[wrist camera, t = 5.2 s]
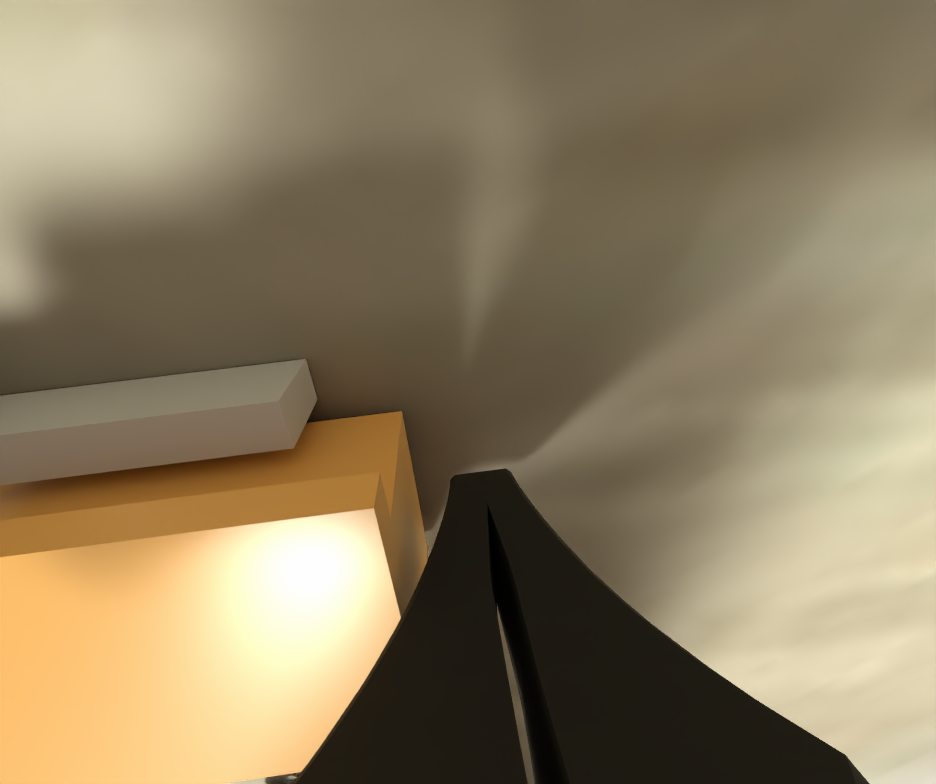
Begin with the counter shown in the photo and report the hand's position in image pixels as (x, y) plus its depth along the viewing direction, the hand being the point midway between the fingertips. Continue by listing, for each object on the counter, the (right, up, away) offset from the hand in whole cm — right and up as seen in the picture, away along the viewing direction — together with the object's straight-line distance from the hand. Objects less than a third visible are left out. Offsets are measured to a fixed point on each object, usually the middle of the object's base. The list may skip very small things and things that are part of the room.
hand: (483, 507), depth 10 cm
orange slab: (-6, 0, +1) cm, 6 cm away
